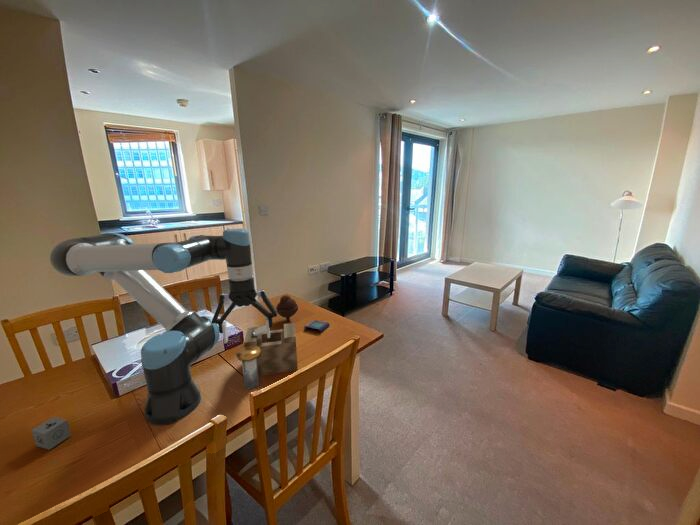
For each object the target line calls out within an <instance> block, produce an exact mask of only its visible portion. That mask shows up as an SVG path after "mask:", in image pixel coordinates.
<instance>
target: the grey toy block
mask: <svg viewBox="0 0 700 525" xmlns="http://www.w3.org/2000/svg"><path fill="white" fill-rule="evenodd" d="M30 431H31V434H32V436H33V440H34V443H35V446H36V447H39V448H42V449H45V450H48V451H51V450H52V449H53V448H54V447H56V446H58V445H59V444H61V443H62V442H63V441H65V440H66V439H69V437H71V436H72V433H71V429H70V427H69V423H68V420H67V419H64V418H61V417H57V416H52V417H51V418H49V419H48V420H46V421H44V422H42V423H41V424H39V425H38V426H36V427H34V428H32V429H31V430H30Z"/></svg>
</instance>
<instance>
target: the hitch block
mask: <svg viewBox="0 0 700 525" xmlns="http://www.w3.org/2000/svg"><path fill="white" fill-rule="evenodd" d="M257 328H259V326H254V327H247V328H246V332H245V336H244V341H243V345H244V346H243V347H246V346H258V347H259V348H260V349H261V354H260V356H259V357H257V366H258V376H264V375H271V374H278V373H285V372H287V373H288V372H293V371H298V370H299V369H298V368H299V366H298V354H297V337H296V326H295V322H290V323H284V324H283V329H282V328H281V329H271V330H270V338H268V337H267V332H265V333H262V334H260V335H257V336H255V337H252V333H253V329H257Z"/></svg>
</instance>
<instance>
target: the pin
mask: <svg viewBox="0 0 700 525" xmlns="http://www.w3.org/2000/svg"><path fill="white" fill-rule="evenodd" d="M235 354H236V359H237V360H238V361H240V362H241V364H242V374H243V381H244V382H243V383H244V388H245V389H247V390H252V389H253V390H254V389H256V388H257V387H259V386H260V378H259V376H260V375H258V366H257V357H259V356H260V354H261V349H260V348H259V347H258V346H246V347H244V346H243V347H241V348H239V349H238V350H237V351H236V353H235Z"/></svg>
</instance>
